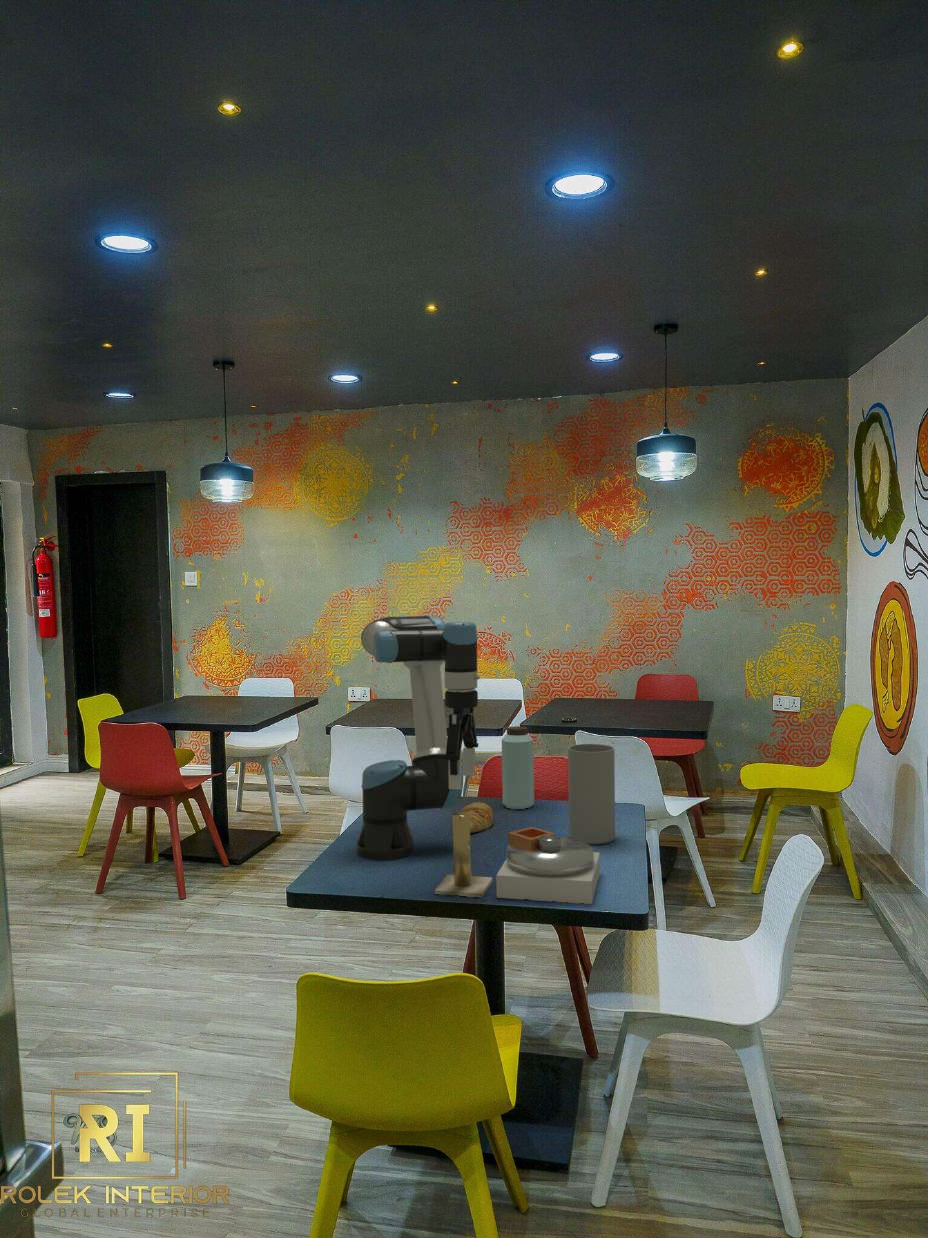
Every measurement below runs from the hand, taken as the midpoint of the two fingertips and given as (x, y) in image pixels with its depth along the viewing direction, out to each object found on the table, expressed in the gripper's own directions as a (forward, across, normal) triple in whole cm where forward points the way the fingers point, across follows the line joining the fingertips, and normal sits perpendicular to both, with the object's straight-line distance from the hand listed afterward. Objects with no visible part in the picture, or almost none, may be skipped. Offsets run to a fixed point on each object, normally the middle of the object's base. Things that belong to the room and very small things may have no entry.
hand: (462, 782), depth 195 cm
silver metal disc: (+19, +6, -19) cm, 28 cm away
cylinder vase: (+25, +45, -25) cm, 57 cm away
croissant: (+25, +52, +9) cm, 59 cm away
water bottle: (+25, +76, +1) cm, 80 cm away
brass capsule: (+23, 0, 0) cm, 23 cm away
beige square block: (+24, +6, -19) cm, 32 cm away
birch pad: (+24, 0, 0) cm, 24 cm away
